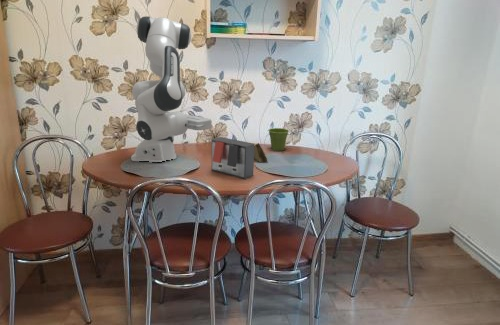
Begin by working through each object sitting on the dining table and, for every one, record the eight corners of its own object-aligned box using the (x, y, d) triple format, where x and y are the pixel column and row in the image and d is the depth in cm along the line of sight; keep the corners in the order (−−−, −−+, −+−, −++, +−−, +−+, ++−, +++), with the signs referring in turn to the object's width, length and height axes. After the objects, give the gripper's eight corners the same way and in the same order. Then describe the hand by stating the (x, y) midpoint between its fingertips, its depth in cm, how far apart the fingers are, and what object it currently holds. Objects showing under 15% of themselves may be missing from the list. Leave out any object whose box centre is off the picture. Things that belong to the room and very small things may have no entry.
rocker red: (215, 161, 161) (218, 141, 160) (222, 163, 159) (225, 143, 158) (212, 161, 159) (215, 141, 159) (219, 162, 157) (222, 142, 156)
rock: (246, 152, 188) (246, 155, 179) (256, 140, 187) (257, 142, 178) (262, 165, 190) (263, 168, 180) (272, 152, 189) (274, 155, 179)
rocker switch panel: (220, 167, 171) (220, 136, 167) (253, 175, 161) (254, 143, 157) (210, 171, 166) (210, 139, 161) (244, 179, 156) (245, 147, 151)
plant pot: (267, 146, 211) (268, 127, 208) (287, 147, 210) (289, 128, 207) (266, 151, 200) (267, 132, 196) (287, 152, 199) (289, 133, 195)
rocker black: (229, 164, 157) (232, 144, 156) (237, 166, 155) (239, 146, 154) (227, 165, 156) (229, 144, 154) (234, 167, 154) (236, 146, 152)
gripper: (197, 119, 127) (221, 113, 138) (157, 111, 137) (182, 107, 148) (197, 136, 129) (221, 129, 140) (158, 127, 139) (182, 122, 150)
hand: (200, 118), depth 144 cm, fingers closed
